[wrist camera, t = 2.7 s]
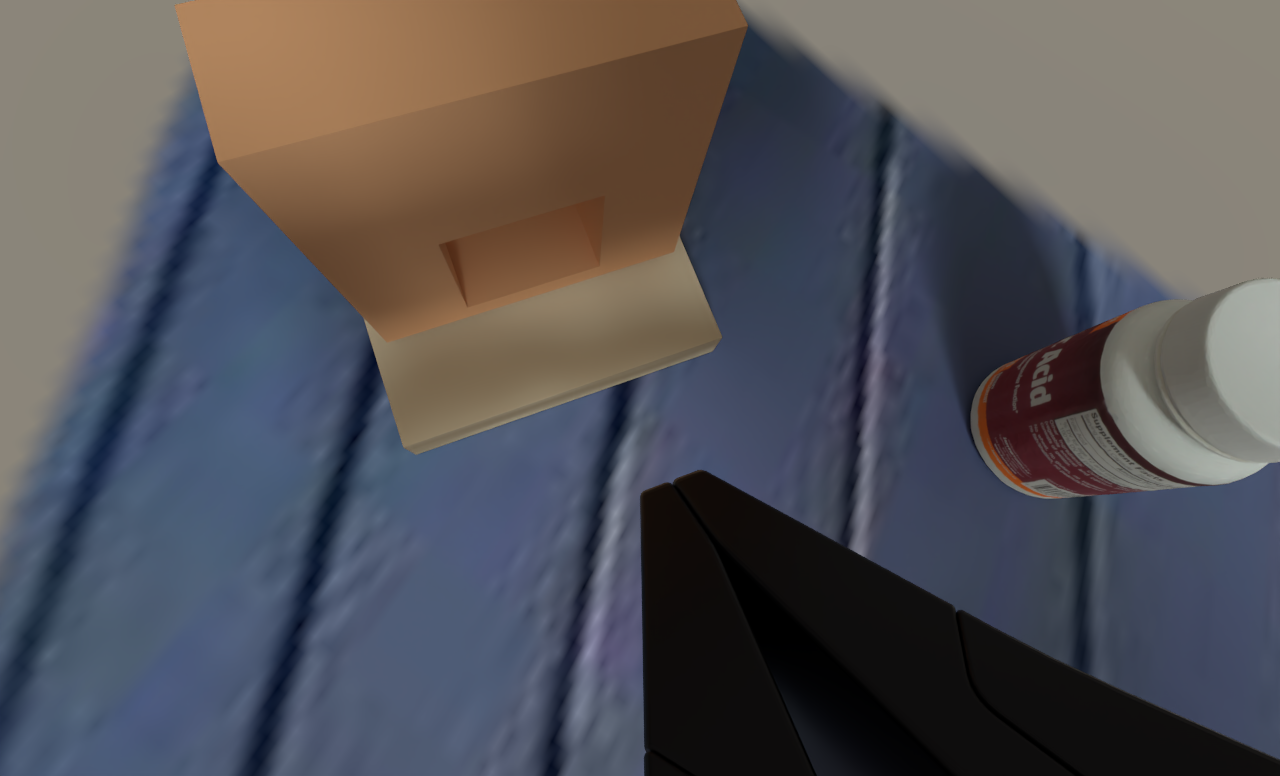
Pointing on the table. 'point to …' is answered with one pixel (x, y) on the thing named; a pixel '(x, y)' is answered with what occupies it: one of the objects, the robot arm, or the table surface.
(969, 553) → the table surface
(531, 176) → the wooden board
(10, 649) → the table surface
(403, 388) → the pipe board
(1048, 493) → the pill bottle
